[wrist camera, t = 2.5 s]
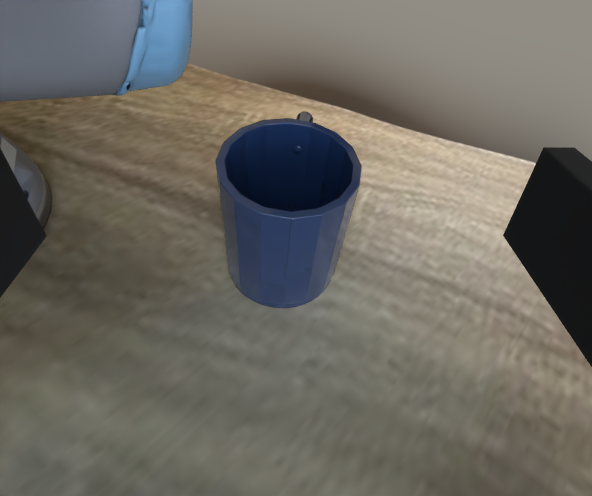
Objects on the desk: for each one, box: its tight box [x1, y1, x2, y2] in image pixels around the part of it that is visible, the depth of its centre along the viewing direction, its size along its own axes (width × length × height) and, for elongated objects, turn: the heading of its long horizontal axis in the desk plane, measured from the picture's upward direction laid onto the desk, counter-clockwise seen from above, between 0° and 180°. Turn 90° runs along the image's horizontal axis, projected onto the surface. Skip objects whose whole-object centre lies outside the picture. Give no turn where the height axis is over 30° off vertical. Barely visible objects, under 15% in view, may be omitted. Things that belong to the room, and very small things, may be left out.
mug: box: [216, 112, 361, 308], centre depth 27 cm, size 12×8×10 cm
